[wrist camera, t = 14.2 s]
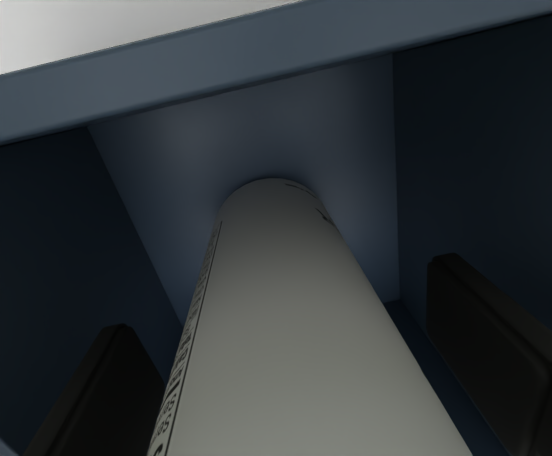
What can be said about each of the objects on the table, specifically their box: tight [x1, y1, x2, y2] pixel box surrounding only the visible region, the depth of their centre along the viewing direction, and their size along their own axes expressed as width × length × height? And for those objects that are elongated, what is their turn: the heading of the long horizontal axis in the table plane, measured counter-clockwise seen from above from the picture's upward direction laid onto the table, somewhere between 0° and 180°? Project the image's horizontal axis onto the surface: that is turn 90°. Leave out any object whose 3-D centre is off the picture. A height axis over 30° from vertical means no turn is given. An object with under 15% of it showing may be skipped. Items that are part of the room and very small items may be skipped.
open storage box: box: [0, 0, 552, 456], centre depth 12 cm, size 16×16×11 cm
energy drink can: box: [147, 178, 473, 456], centre depth 9 cm, size 6×6×15 cm
